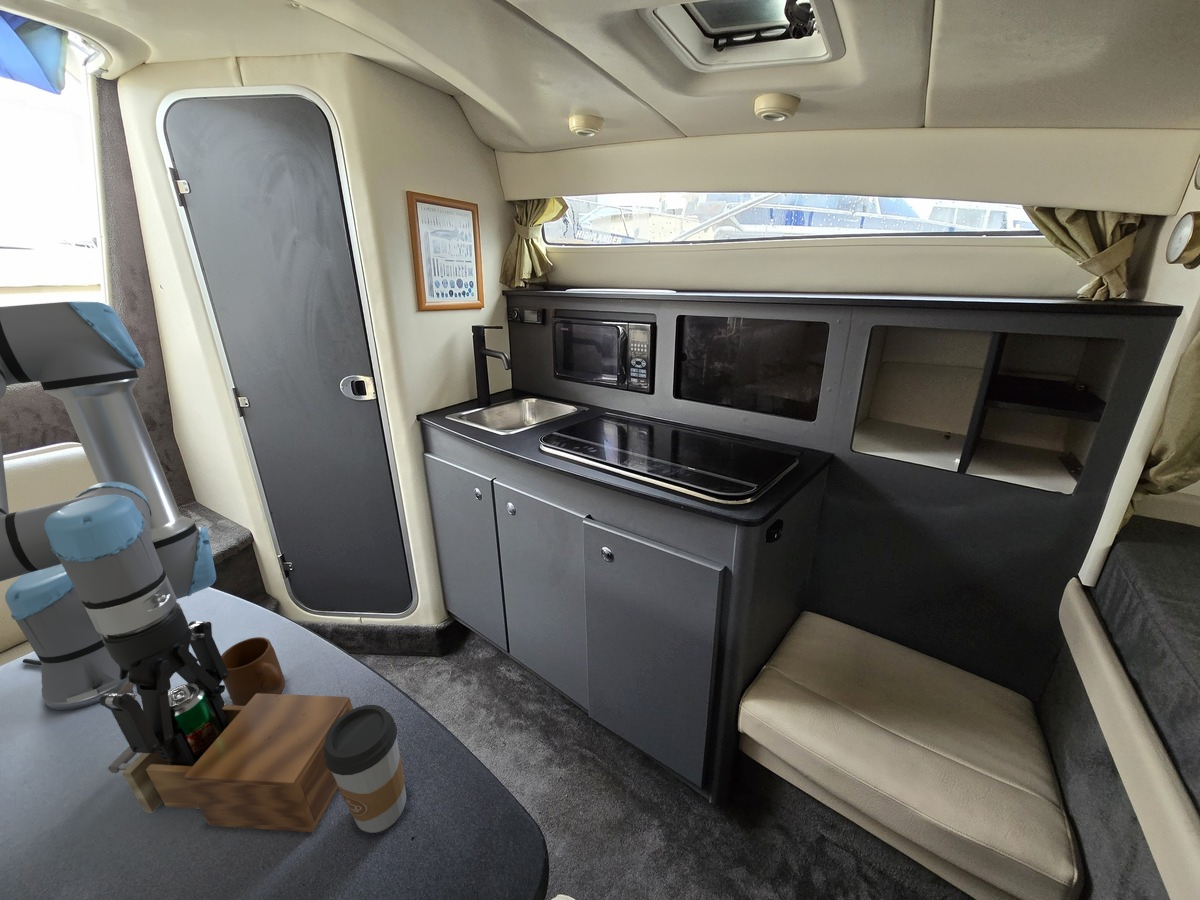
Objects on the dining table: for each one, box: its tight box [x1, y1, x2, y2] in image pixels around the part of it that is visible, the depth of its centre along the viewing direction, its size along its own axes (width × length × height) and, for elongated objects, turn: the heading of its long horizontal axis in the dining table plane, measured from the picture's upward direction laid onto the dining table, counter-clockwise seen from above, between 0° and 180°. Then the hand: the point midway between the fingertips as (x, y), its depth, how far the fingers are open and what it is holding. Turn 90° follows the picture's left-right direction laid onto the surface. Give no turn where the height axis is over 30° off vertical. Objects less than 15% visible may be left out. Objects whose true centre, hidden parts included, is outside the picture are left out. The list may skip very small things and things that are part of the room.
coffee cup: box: [324, 704, 407, 834], centre depth 64 cm, size 8×8×15 cm
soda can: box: [168, 683, 223, 762], centre depth 68 cm, size 5×5×12 cm
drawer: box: [107, 704, 245, 814], centre depth 70 cm, size 19×11×8 cm, turn 86°
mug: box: [220, 636, 286, 706], centre depth 82 cm, size 12×8×9 cm, turn 63°
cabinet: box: [184, 693, 354, 833], centre depth 69 cm, size 15×13×10 cm
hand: (203, 748), depth 69 cm, fingers closed on soda can, 5 cm apart
